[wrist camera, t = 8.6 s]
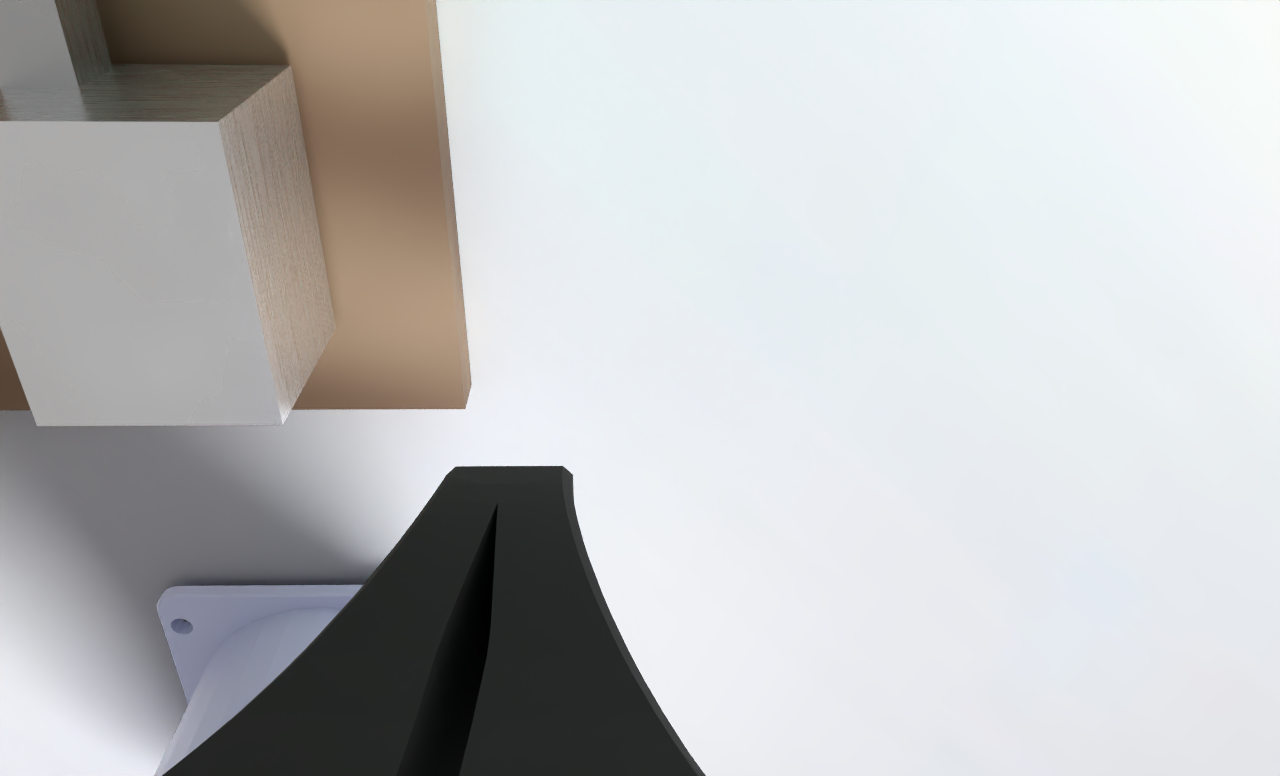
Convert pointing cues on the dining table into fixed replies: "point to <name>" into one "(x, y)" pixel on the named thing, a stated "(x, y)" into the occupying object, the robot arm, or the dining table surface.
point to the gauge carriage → (152, 232)
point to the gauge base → (344, 179)
